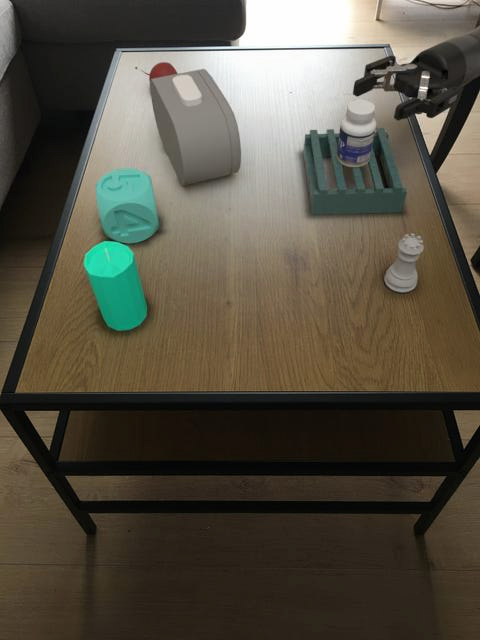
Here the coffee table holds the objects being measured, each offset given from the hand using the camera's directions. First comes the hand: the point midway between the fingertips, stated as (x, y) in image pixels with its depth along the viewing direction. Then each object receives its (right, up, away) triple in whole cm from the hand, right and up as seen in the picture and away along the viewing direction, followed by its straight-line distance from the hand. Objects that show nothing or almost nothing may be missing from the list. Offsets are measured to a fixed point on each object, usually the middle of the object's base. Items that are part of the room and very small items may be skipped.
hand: (375, 101), depth 80 cm
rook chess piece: (+2, -27, -5) cm, 28 cm away
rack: (-2, -10, +9) cm, 13 cm away
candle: (-36, -32, -7) cm, 48 cm away
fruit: (-36, +14, +29) cm, 48 cm away
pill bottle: (-2, -7, +5) cm, 9 cm away
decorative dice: (-37, -18, +4) cm, 41 cm away
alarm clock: (-27, -5, +14) cm, 31 cm away
